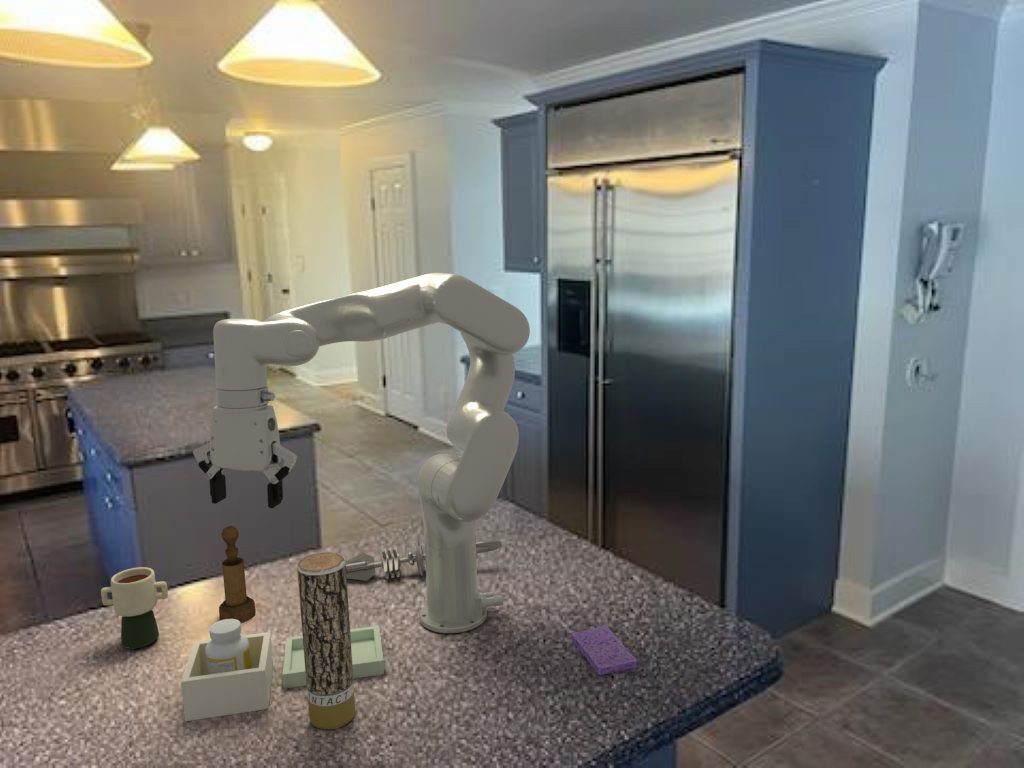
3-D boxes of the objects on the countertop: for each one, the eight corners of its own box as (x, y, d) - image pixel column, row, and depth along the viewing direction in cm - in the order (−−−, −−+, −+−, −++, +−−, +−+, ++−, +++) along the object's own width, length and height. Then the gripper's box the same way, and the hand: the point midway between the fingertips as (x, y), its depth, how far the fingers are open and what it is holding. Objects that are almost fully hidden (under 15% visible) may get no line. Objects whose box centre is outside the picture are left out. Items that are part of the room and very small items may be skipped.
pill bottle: (247, 677, 128) (241, 611, 126) (258, 695, 122) (251, 628, 120) (206, 690, 124) (198, 623, 122) (215, 710, 119) (208, 640, 117)
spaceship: (503, 543, 160) (497, 517, 167) (333, 572, 157) (334, 544, 164) (506, 570, 165) (500, 543, 171) (341, 598, 162) (341, 570, 168)
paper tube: (313, 706, 119) (301, 553, 115) (358, 702, 120) (348, 551, 115) (305, 733, 113) (292, 573, 108) (353, 730, 113) (342, 570, 109)
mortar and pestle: (243, 625, 145) (235, 534, 142) (212, 622, 146) (203, 532, 143) (262, 608, 151) (254, 521, 148) (232, 606, 153) (223, 519, 149)
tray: (379, 638, 139) (378, 625, 139) (384, 674, 128) (383, 660, 127) (287, 650, 136) (286, 637, 135) (283, 688, 124) (282, 674, 124)
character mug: (177, 629, 144) (169, 563, 142) (168, 648, 137) (160, 580, 135) (113, 636, 142) (105, 570, 139) (102, 656, 135) (92, 587, 133)
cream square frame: (273, 667, 130) (270, 631, 129) (268, 708, 119) (264, 670, 118) (198, 677, 128) (194, 641, 127) (185, 721, 116) (180, 681, 115)
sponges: (598, 678, 126) (598, 667, 126) (570, 640, 138) (570, 631, 138) (637, 670, 128) (637, 659, 128) (606, 633, 140) (606, 624, 140)
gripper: (304, 396, 123) (307, 500, 126) (205, 391, 126) (210, 492, 129) (282, 405, 116) (286, 515, 119) (177, 399, 119) (183, 506, 122)
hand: (246, 503), depth 124 cm, fingers open, 9 cm apart
